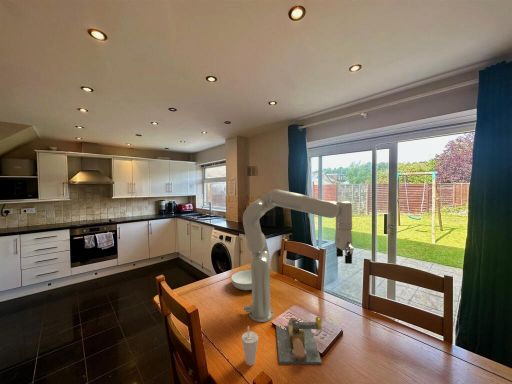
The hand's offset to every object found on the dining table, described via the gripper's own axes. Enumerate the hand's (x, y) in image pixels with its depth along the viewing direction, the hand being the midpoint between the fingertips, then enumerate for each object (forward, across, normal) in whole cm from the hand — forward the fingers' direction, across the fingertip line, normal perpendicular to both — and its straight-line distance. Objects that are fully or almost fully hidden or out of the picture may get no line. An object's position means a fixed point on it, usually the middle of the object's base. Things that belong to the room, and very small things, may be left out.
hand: (343, 259), depth 105 cm
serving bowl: (+30, -36, -50) cm, 69 cm away
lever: (+23, +16, -23) cm, 37 cm away
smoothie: (+30, +24, -48) cm, 61 cm away
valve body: (+30, +16, -28) cm, 44 cm away
